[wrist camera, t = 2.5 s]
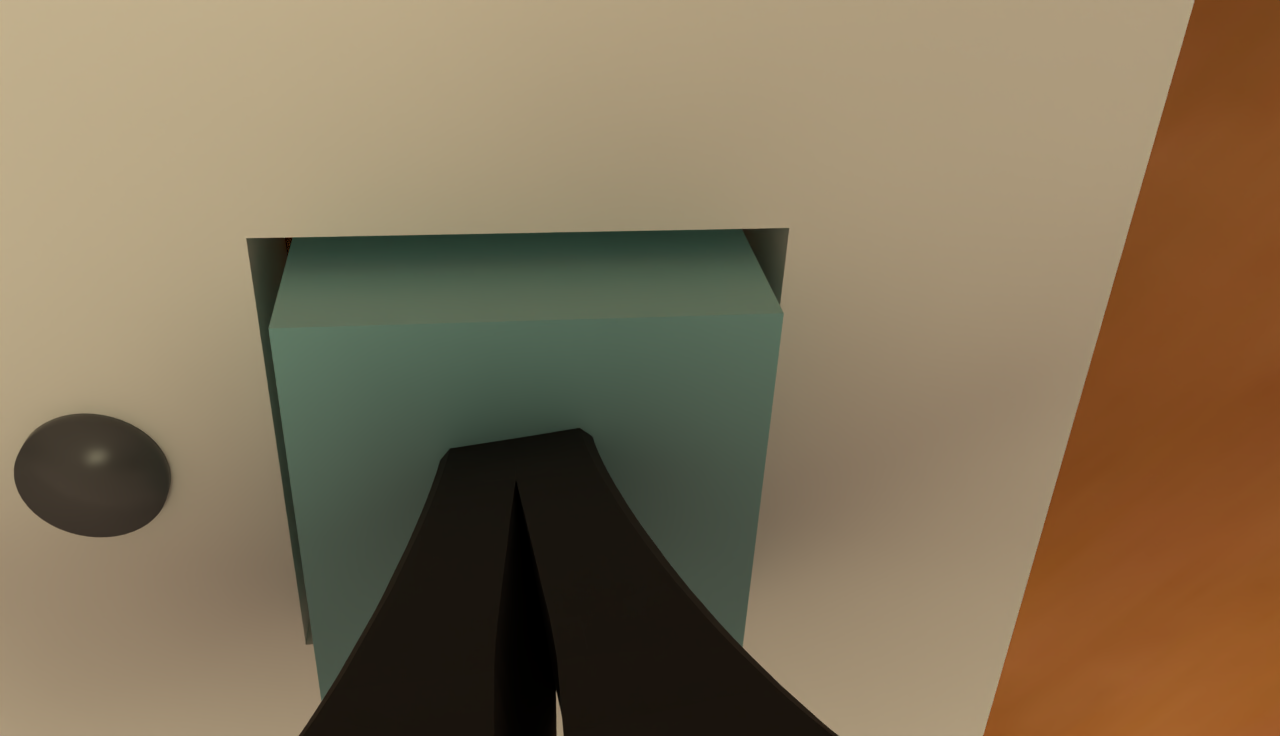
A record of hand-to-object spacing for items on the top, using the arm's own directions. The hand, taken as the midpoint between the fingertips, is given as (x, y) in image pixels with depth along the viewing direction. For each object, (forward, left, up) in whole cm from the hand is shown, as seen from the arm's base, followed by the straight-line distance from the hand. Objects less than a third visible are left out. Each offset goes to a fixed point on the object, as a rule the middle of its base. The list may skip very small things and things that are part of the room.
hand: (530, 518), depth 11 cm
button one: (0, 0, -3) cm, 3 cm away
